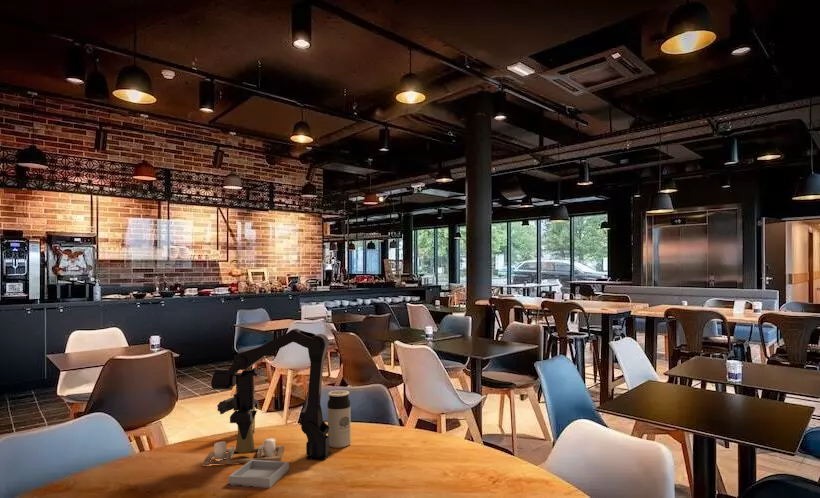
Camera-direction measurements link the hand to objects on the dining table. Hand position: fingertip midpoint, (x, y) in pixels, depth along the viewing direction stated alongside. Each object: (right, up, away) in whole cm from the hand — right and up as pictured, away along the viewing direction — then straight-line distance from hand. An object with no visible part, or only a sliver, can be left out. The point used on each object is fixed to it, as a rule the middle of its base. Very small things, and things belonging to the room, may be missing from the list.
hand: (245, 436), depth 162 cm
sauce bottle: (-7, -8, +24) cm, 26 cm away
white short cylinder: (-8, -7, -2) cm, 10 cm away
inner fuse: (+8, -6, +1) cm, 10 cm away
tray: (+10, -5, -17) cm, 21 cm away
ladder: (0, -7, 0) cm, 6 cm away
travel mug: (+30, -7, +10) cm, 32 cm away
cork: (0, -4, 0) cm, 4 cm away
